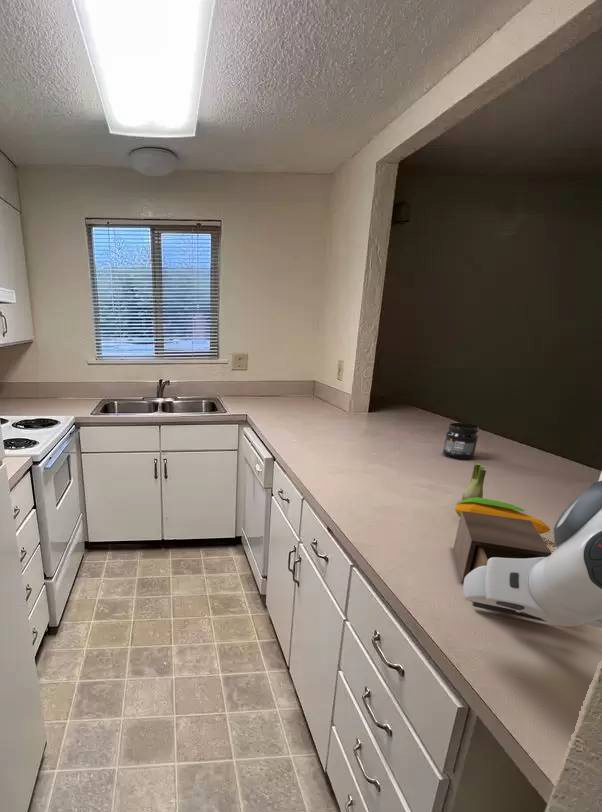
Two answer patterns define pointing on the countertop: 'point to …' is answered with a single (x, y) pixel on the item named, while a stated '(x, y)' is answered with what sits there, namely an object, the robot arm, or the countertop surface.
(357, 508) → the countertop surface
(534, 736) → the countertop surface
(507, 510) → the corn
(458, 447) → the supplement container
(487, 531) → the cabinet
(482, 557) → the drawer
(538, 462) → the countertop surface
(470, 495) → the fennel bulb
